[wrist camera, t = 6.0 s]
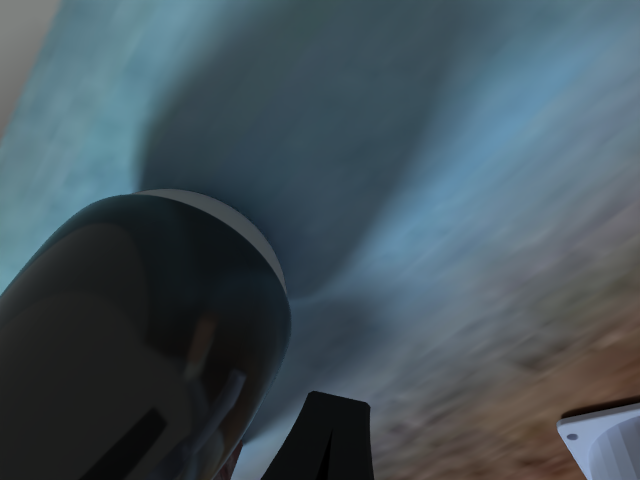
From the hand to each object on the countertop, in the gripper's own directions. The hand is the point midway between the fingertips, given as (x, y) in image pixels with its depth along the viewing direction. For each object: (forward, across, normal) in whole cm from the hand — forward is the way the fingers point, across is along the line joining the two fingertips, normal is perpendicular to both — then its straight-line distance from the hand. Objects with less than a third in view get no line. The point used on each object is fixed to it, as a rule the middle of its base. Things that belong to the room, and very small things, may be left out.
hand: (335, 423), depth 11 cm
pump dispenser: (+10, +8, +4) cm, 14 cm away
